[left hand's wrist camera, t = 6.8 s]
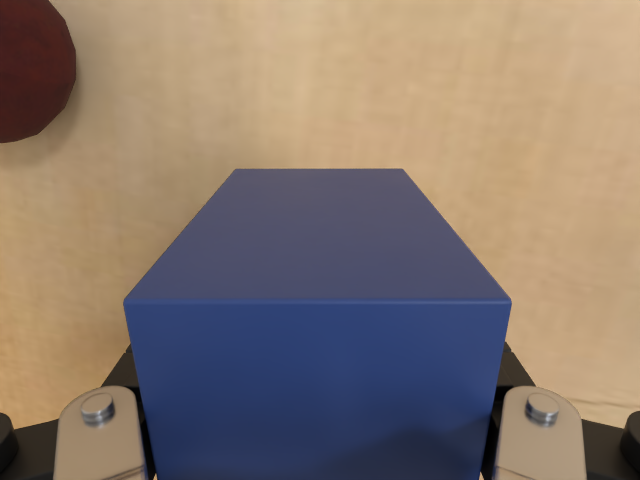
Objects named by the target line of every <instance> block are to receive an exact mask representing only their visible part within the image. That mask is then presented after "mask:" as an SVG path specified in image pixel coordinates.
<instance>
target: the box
mask: <svg viewBox="0 0 640 480" xmlns="http://www.w3.org/2000/svg"><path fill="white" fill-rule="evenodd" d="M511 305H512V302H511V299H510V297H509V296H508V295H507V294H506V293H505V291H504V290H503V289H502V288H501V287H500V285H499V284H498V283H497V282H496V281H495V279H494V278H493V277H492V276H491V275H490V273H489V272H488V271H487V270H486V268H485V267H484V266H483V265H482V264H481V262H480V261H479V260H478V259H477V258H476V256H475V255H474V254H473V253H472V252H471V250H470V249H469V248H468V247H467V246H466V244H465V243H464V242H463V241H462V240H461V238H460V237H459V236H458V235H457V234H456V232H455V231H454V230H453V229H452V228H451V226H450V225H449V224H448V223H447V222H446V220H445V219H444V218H443V217H442V215H441V214H440V213H439V212H438V211H437V209H436V208H435V207H434V206H433V205H432V203H431V202H430V201H429V200H428V199H427V197H426V196H425V195H424V194H423V193H422V191H421V190H420V189H419V188H418V187H417V185H416V184H415V183H414V182H413V181H412V179H411V178H410V177H409V176H408V175H407V173H406V172H405V171H404V170H403V169H235V170H234V171H233V173H232V174H231V175H230V176H229V177H228V178H227V180H226V181H225V182H224V183H223V184H222V185H221V187H220V188H219V189H218V190H217V191H216V192H215V194H214V195H213V196H212V197H211V198H210V199H209V201H208V202H207V203H206V204H205V205H204V206H203V208H202V209H201V210H200V211H199V212H198V213H197V215H196V216H195V217H194V218H193V219H192V221H191V222H190V223H189V224H188V225H187V226H186V228H185V229H184V230H183V231H182V232H181V233H180V235H179V236H178V237H177V238H176V239H175V240H174V242H173V243H172V244H171V245H170V246H169V247H168V249H167V250H166V251H165V252H164V253H163V254H162V256H161V257H160V258H159V259H158V260H157V261H156V263H155V264H154V265H153V266H152V267H151V268H150V270H149V271H148V272H147V273H146V274H145V275H144V277H143V278H142V279H141V280H140V281H139V282H138V284H137V285H136V286H135V287H134V288H133V289H132V291H131V292H130V293H129V294H128V295H127V297H126V298H125V299H124V302H123V306H124V311H125V316H126V321H127V326H128V331H129V336H130V341H131V347H132V352H133V357H134V362H135V367H136V372H137V377H138V383H139V388H140V393H141V398H142V403H143V408H144V413H145V418H146V424H147V429H148V434H149V439H150V444H151V449H152V454H153V460H154V465H155V470H156V475H157V480H479V477H480V471H481V466H482V460H483V455H484V450H485V444H486V439H487V434H488V428H489V423H490V418H491V412H492V407H493V401H494V396H495V391H496V385H497V380H498V375H499V369H500V364H501V358H502V353H503V348H504V342H505V337H506V332H507V326H508V321H509V316H510V310H511Z"/></svg>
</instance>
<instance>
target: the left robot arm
mask: <svg viewBox="0 0 640 480" xmlns="http://www.w3.org/2000/svg"><path fill="white" fill-rule="evenodd" d="M481 473H482V476H483V478H484V480H640V411H636V412H634V413H632V414H631V415H630V416H629V417H628V419H627V422H626V425H625V428H624V429H622V428H618V427H613V426H609V425H605V424H600V423H596V422H591V421H587V420H584V419H581V417H580V415H579V413H578V411H577V410H576V408H575V407H574V406H573V405H572V404H571V403H570V402H568V401H567V400H566V399H564V398H563V397H561V396H560V395H558V394H556V393H554V392H552V391H549V390H547V389H543V388H540V387H536V385H535V384H534V382H533V381H532V379H531V378H530V376H529V375H528V374H527V372H526V371H525V369H524V368H523V366H522V365H521V363H520V362H519V360H518V359H517V357H516V356H515V354H514V353H513V352H511V349H510V347H509V346H508V344H507V343H506V342H504V348H503V353H502V358H501V364H500V369H499V375H498V380H497V385H496V391H495V396H494V401H493V407H492V412H491V418H490V423H489V428H488V434H487V439H486V444H485V450H484V455H483V460H482V466H481ZM155 474H156V470H155V465H154V460H153V454H152V449H151V444H150V439H149V434H148V429H147V424H146V418H145V413H144V408H143V403H142V398H141V393H140V388H139V383H138V377H137V372H136V367H135V362H134V357H133V352H132V347H131V344H130V345H129V347H128V348H127V350H126V353H124V354H123V355H122V357H121V358H120V360H119V361H118V363H117V364H116V366H115V367H114V368H113V370H112V371H111V373H110V374H109V376H108V377H107V379H106V380H105V381H104V383H103V384H102V386H101V387H100V388H97V389H93V390H91V391H88V392H86V393H84V394H82V395H80V396H79V397H77V398H76V399H74V400H73V401H72V402H70V403H69V404H68V405H67V406H66V407H65V408H64V410H63V411H62V413H61V415H60V417H59V419H56V420H53V421H49V422H45V423H41V424H36V425H32V426H28V427H23V428H19V429H15V430H14V428H13V425H12V422H11V420H10V418H9V417H8V416H7V415H6V414H3V413H0V480H153V479H154V476H155Z"/></svg>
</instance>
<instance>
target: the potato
mask: <svg viewBox="0 0 640 480" xmlns="http://www.w3.org/2000/svg"><path fill="white" fill-rule="evenodd" d="M75 78H76V53H75V48H74V45H73V42H72V39H71V36H70V33H69V30H68V27H67V25H66V22H65V20H64V19H63V17H62V16H61V15H60V14H59V12H58V11H57V10H56V9H55V8H54V6H53V5H52V4H51V3H50V2H49V0H0V143H7V142H14V141H18V140H21V139H24V138H28V137H31V136H34V135H37V134H38V133H39V132H41V131H42V130H43V129H44V128H45V127H46V126H47V125H48V124H49V123H50V122H51V121H52V120H53V119H54V118H55V117H56V116H57V115H58V114H59V113H60V112H61V111H62V110H63V109H64V108H65V105H66V103H67V100H68V98H69V95H70V93H71V90H72V87H73V85H74V82H75Z"/></svg>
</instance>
